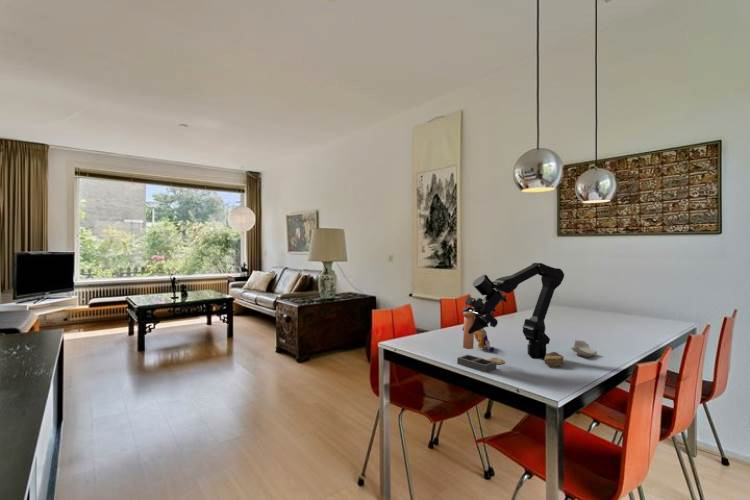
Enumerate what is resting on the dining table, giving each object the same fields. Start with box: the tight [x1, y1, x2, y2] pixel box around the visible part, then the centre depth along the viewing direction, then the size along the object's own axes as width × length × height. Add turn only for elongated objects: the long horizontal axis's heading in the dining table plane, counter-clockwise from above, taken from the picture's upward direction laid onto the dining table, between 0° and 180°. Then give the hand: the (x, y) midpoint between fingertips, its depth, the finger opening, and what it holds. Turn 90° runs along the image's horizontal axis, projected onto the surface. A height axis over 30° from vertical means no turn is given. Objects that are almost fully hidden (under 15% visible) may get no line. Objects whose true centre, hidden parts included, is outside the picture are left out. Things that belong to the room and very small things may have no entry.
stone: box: [543, 351, 564, 368], centre depth 147 cm, size 14×7×5 cm, turn 162°
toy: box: [474, 328, 496, 353], centre depth 168 cm, size 12×7×14 cm
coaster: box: [484, 357, 505, 366], centre depth 150 cm, size 8×8×1 cm
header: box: [456, 354, 497, 373], centre depth 144 cm, size 7×13×2 cm, turn 39°
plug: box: [462, 311, 476, 350], centre depth 146 cm, size 5×5×14 cm
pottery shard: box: [570, 339, 598, 358], centre depth 157 cm, size 10×11×5 cm
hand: (466, 331), depth 146 cm, fingers closed on plug, 4 cm apart
